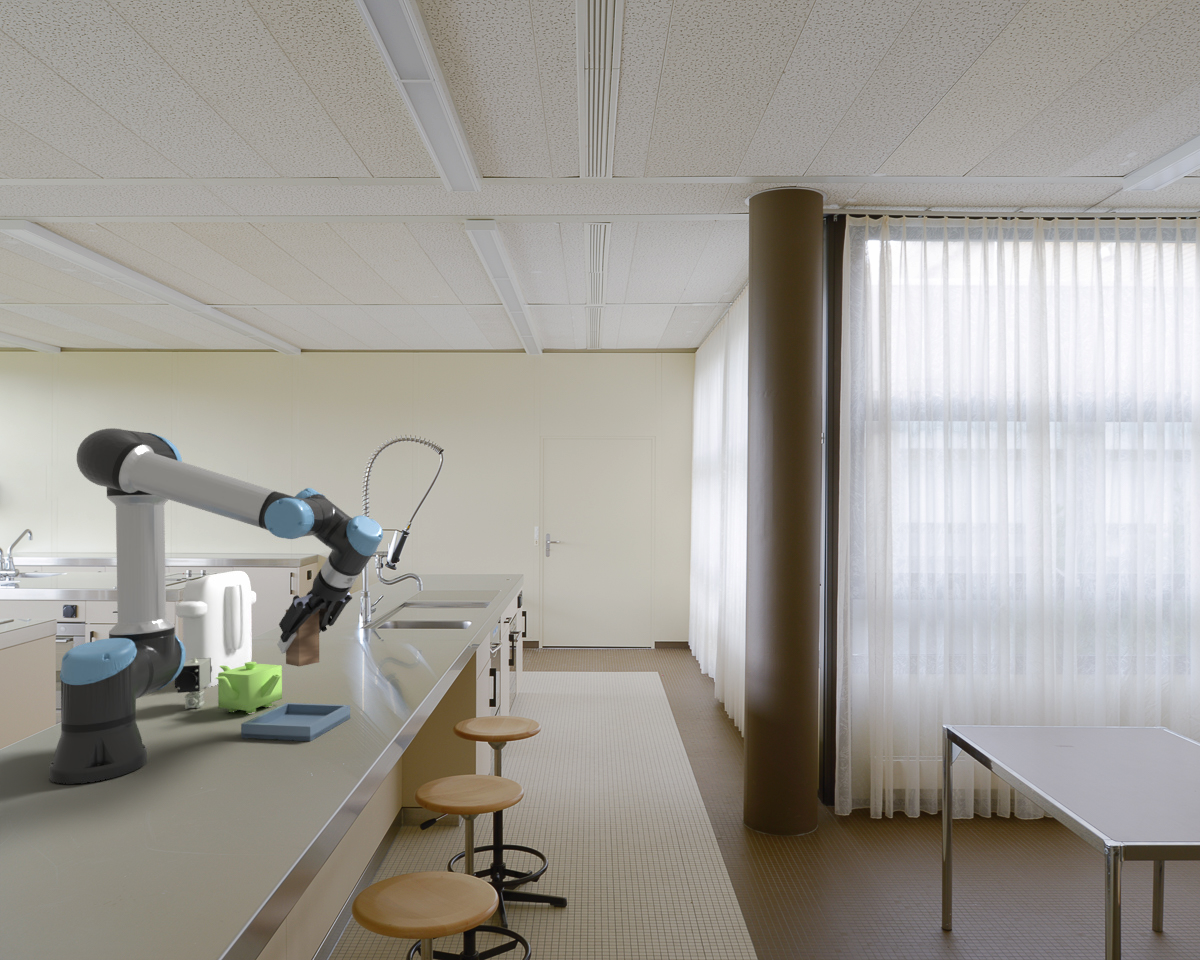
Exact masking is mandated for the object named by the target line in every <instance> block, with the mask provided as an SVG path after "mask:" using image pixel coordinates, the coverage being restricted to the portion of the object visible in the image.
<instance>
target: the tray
mask: <svg viewBox="0 0 1200 960" xmlns="http://www.w3.org/2000/svg"><path fill="white" fill-rule="evenodd" d="M350 719H351V705H350V704H336V703H335V704H332V703H331V704H330V703H329V704H328V703H305V702H304V703H301V702H285V703H283V704H281V705H279V706H276V707H275V708H273V709H271V710H268V711H266V712H264V713H262V714H259V715H257V716H255V717H253V718H250V719H248V720H247V721H244V722H243V723H241V724H240V726H241V727H240V735H241V736H240V738H241V739H248V738H257V739H256V740H270V739H278V741H292V740H294V741H296V742H311V741H313V740H315V739H317V738H319V737H321V736H322V735H324V734H326V733H328V732H329V731H330V730H333V729H335V728H337V726H340V725H341V724H343V723H345V722H347V721H348V720H350Z"/></svg>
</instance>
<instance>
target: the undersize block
mask: <svg viewBox="0 0 1200 960" xmlns="http://www.w3.org/2000/svg"><path fill="white" fill-rule="evenodd" d="M288 609H289V608H288ZM288 609H285V613H286V612H287V611H288ZM296 633H297V635H296V637H295V638H294V640H293V641H292V643H291V645H290V646H289V648H288V649H287V651H286V652H285V664H286V665H289V666H296V667H303V666H304V667H305V666H309V665H312V664H318V663H320V633H319V610H318V611H317V612H316V613H315V614H312V615H311V616H310V617H309V618H308V619H307V620H306V621H305V622H304V623H303V624H302V625H301V627H300V628H299V629H298V630H297V631H296Z"/></svg>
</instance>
